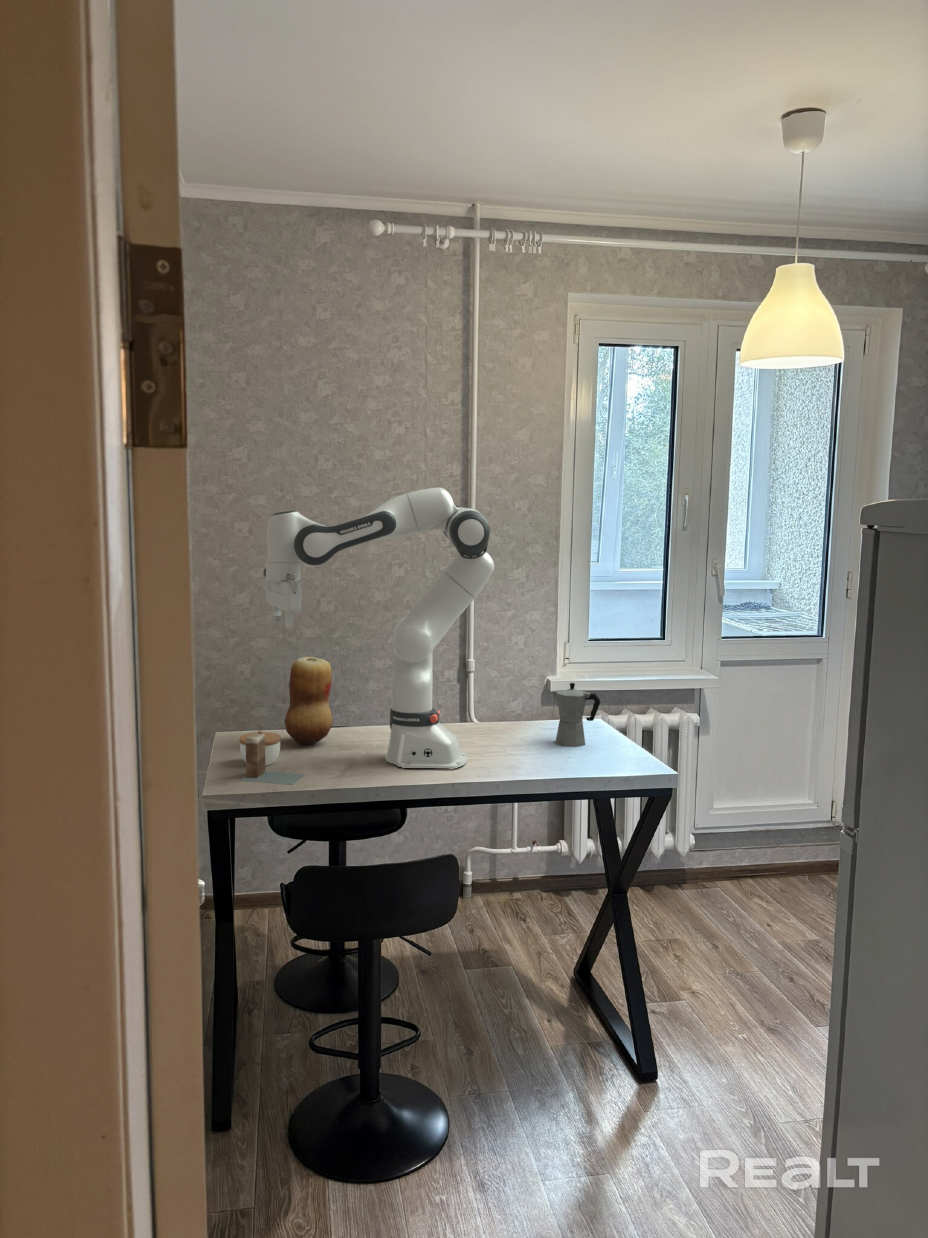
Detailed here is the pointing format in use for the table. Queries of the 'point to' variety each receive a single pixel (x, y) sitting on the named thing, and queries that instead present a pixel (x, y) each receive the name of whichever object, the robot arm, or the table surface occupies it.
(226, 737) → the table surface
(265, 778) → the slate mat
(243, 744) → the lidded jar
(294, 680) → the butternut squash
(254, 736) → the brown and white block
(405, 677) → the robot arm
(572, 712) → the coffeepot
